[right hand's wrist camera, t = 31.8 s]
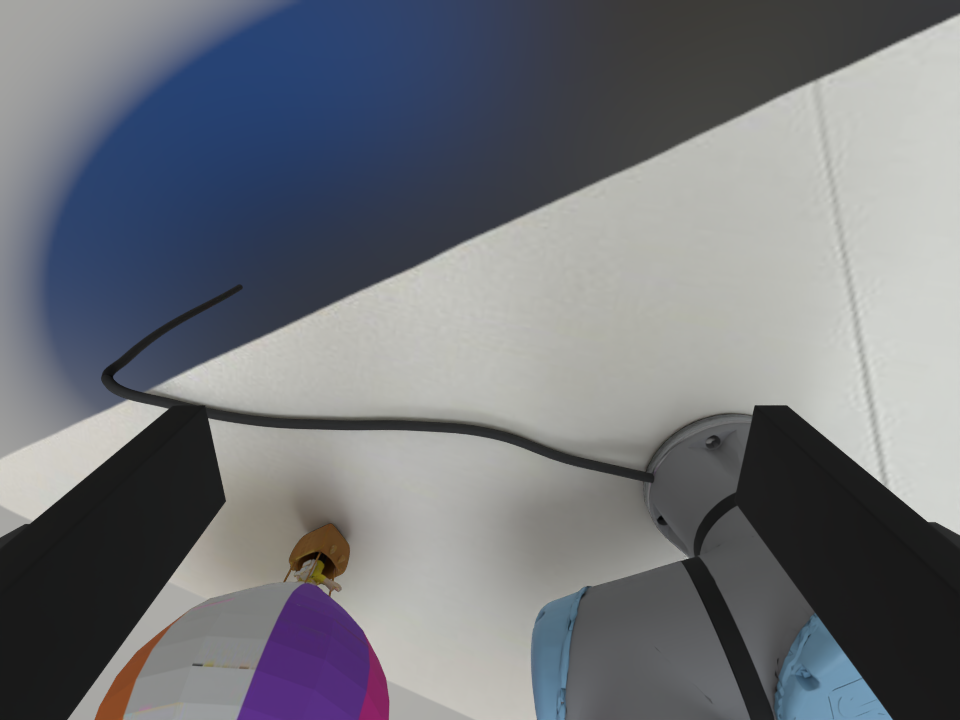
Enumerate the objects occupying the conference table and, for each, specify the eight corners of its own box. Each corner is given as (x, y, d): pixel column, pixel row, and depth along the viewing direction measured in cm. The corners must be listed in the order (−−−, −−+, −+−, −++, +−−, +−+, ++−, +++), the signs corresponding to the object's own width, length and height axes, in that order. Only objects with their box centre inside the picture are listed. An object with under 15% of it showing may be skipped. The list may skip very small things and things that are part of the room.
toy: (352, 427, 50) (194, 771, 22) (454, 567, 57) (428, 970, 29) (193, 508, 54) (-114, 892, 26) (305, 631, 60) (155, 1046, 32)
